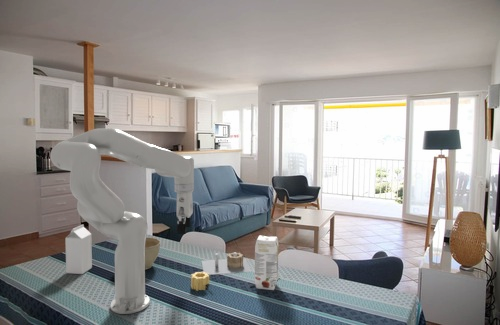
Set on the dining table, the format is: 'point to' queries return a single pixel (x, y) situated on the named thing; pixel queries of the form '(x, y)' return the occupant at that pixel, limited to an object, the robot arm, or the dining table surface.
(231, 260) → the beech gear
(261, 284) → the juice carton
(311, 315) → the dining table surface
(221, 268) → the gear board
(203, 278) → the ochre gear
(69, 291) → the dining table surface
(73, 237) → the milk carton
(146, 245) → the planter bowl
